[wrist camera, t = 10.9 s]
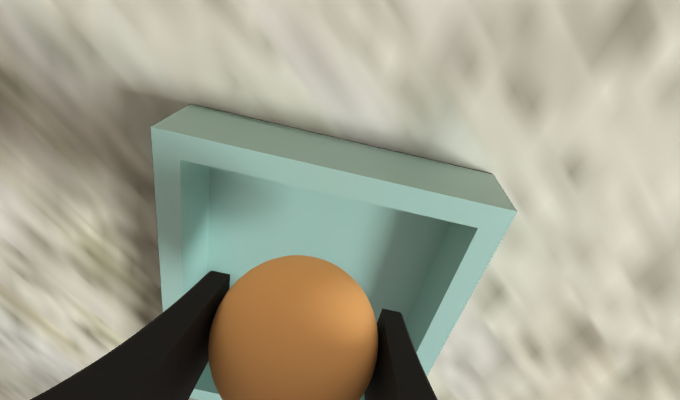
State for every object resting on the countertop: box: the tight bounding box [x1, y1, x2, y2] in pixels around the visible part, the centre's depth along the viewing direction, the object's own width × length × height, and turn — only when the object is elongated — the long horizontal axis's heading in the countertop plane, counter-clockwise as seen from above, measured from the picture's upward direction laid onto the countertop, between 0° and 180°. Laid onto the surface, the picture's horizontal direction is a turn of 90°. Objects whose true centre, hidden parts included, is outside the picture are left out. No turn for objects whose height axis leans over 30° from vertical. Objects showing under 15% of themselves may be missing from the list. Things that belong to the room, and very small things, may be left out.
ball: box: [208, 255, 379, 400], centre depth 11 cm, size 5×5×5 cm
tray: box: [151, 104, 517, 400], centre depth 18 cm, size 16×13×3 cm
